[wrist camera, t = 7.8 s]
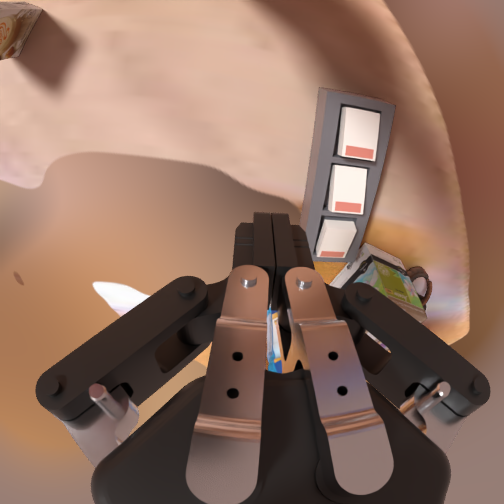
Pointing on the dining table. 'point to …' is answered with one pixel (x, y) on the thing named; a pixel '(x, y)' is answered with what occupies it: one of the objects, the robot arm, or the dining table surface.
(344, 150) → the plate
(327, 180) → the strip housing
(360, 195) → the rocker
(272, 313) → the beverage bottle
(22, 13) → the coffee box
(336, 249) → the rocker
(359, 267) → the tea box
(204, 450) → the robot arm
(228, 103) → the dining table surface
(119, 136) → the dining table surface
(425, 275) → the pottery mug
